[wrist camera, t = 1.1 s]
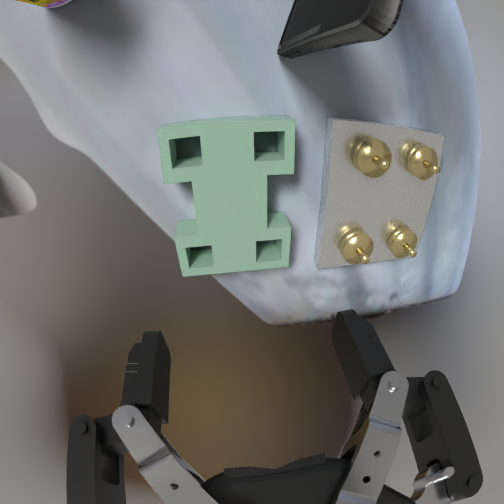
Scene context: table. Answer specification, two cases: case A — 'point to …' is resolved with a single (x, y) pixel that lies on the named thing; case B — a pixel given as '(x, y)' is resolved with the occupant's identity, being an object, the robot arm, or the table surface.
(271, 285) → the table surface
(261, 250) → the board
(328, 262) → the chassis
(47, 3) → the supplement bottle
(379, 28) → the phone
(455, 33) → the table surface
